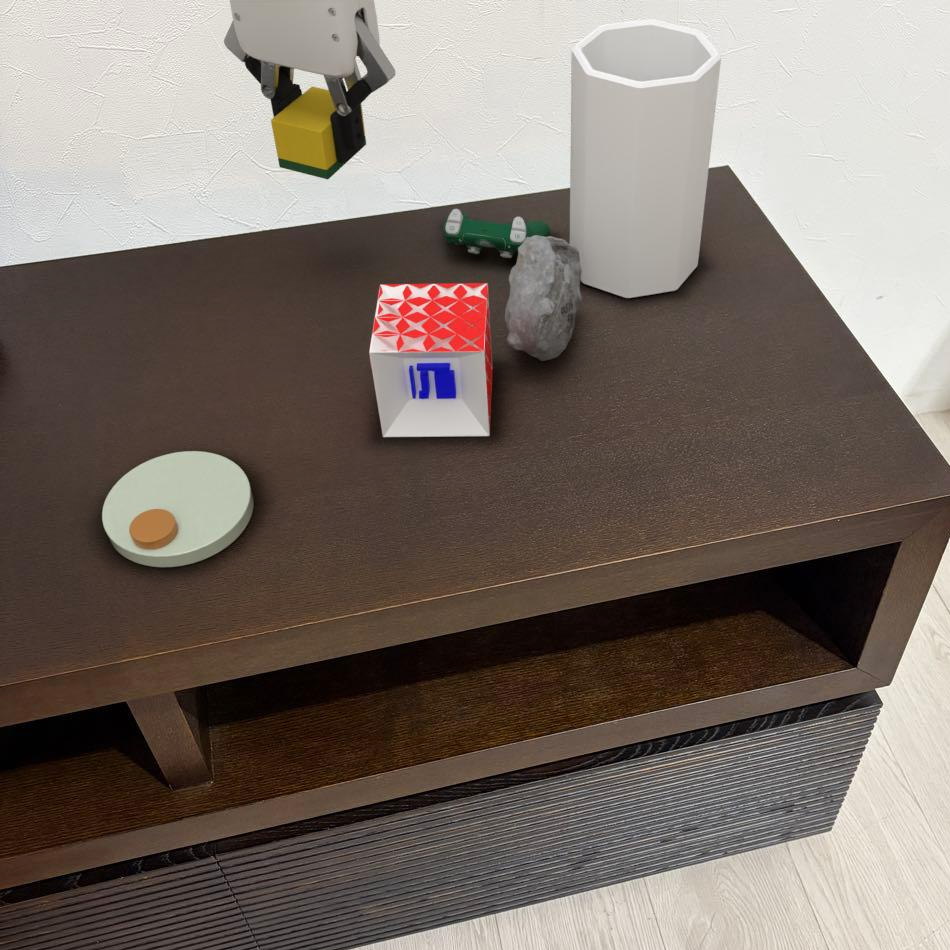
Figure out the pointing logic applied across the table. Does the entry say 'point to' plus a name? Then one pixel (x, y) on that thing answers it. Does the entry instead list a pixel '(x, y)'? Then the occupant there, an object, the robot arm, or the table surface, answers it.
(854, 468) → the table surface
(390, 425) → the puzzle cube
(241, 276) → the table surface
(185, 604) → the table surface
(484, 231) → the gaming controller
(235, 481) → the plate
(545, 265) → the stone
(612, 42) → the cup
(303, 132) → the sponge
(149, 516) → the orange flat disc
